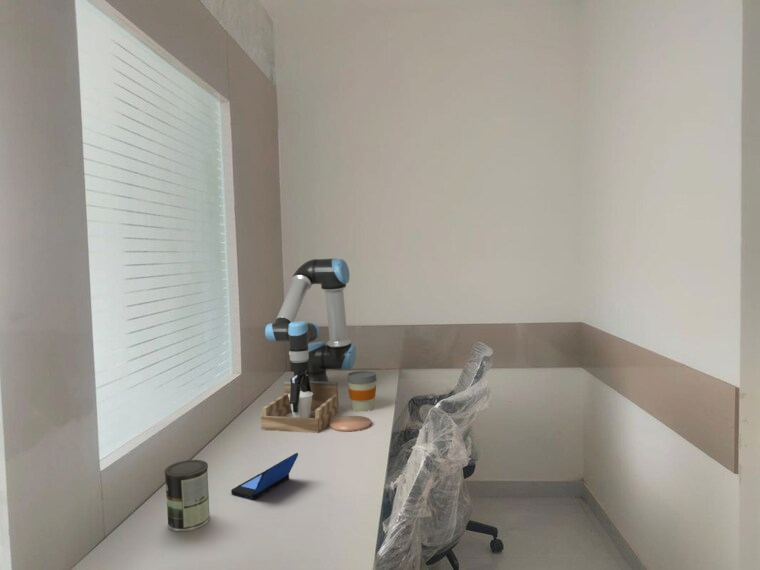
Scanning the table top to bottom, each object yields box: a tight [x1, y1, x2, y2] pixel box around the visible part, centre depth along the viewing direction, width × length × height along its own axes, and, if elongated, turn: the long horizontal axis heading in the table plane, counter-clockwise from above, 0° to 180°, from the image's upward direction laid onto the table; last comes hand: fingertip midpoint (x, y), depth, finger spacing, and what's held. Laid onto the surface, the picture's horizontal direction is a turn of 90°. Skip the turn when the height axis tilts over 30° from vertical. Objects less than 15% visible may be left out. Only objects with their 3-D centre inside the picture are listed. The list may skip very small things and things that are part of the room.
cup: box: [288, 391, 313, 418], centre depth 217 cm, size 10×10×11 cm
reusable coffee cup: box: [346, 370, 377, 412], centre depth 232 cm, size 13×13×15 cm
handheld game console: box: [231, 452, 299, 501], centre depth 156 cm, size 16×13×9 cm
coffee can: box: [164, 459, 211, 533], centre depth 137 cm, size 10×10×14 cm
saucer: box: [329, 415, 372, 433], centre depth 211 cm, size 16×16×1 cm
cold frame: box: [260, 380, 339, 434], centre depth 218 cm, size 25×23×13 cm
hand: (301, 416), depth 218 cm, fingers open, 9 cm apart
